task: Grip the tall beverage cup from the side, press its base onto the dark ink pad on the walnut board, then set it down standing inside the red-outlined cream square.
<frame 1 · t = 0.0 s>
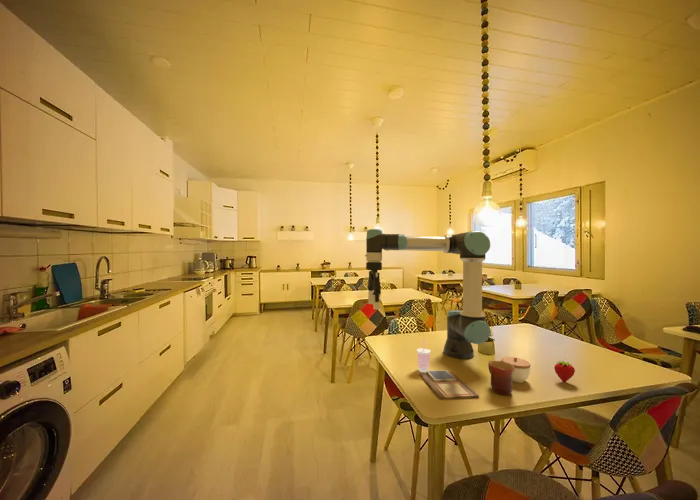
hand: (373, 306, 131), 28 cm above the table, tool pointing down, fingers open, 13 cm apart
stamp board: (446, 385, 111), on the table
beverage cup: (423, 370, 126), on the table
lidded jar: (515, 380, 117), on the table
strawberry: (564, 382, 115), on the table
mug: (498, 390, 108), on the table
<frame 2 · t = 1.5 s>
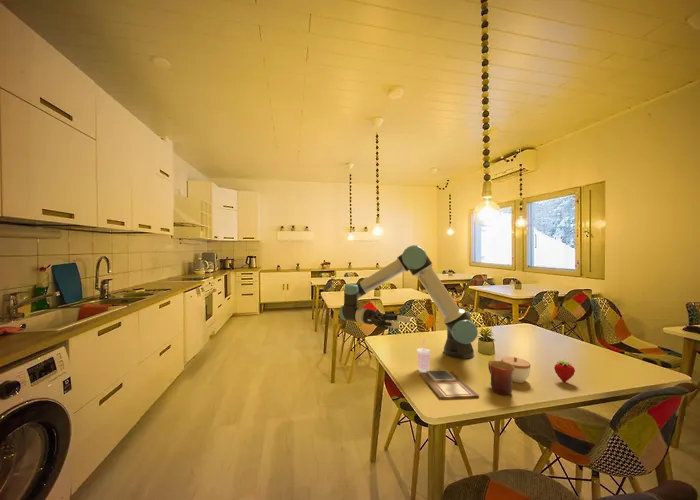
hand: (404, 322, 132), 20 cm above the table, tool horizontal, fingers open, 13 cm apart
nothing on the table moved.
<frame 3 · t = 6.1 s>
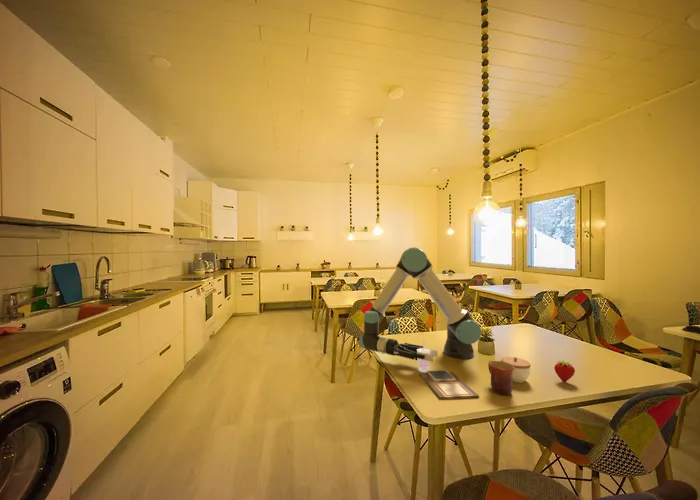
hand: (434, 356, 123), 8 cm above the table, tool horizontal, fingers closed on beverage cup, 6 cm apart
beverage cup: (423, 370, 126), on the table, touching gripper
everything else where it was.
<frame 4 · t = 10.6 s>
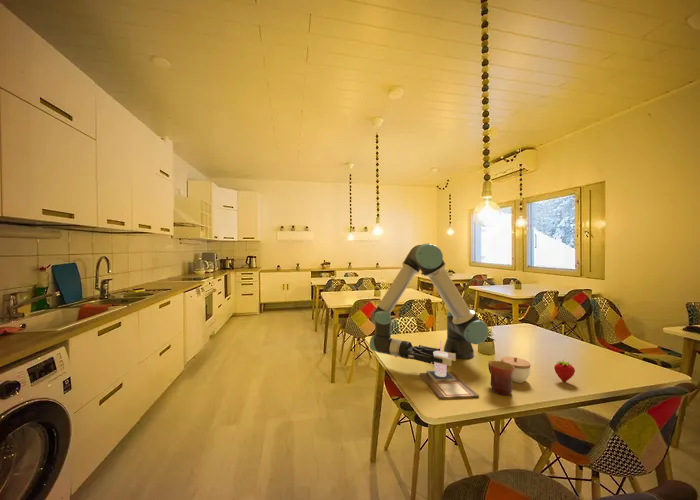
hand: (453, 359, 114), 9 cm above the table, tool horizontal, fingers closed on beverage cup, 6 cm apart
beverage cup: (440, 375, 117), point 2 cm above the table, touching gripper, stamp board
everything else where it was.
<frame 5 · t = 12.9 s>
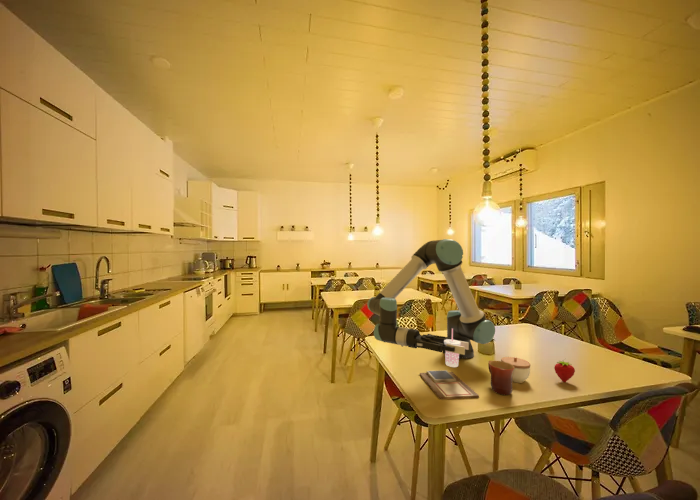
hand: (466, 348, 104), 17 cm above the table, tool horizontal, fingers closed on beverage cup, 6 cm apart
beverage cup: (451, 365, 107), point 10 cm above the table, touching gripper
everything else where it was.
when the fingers open (9 cm above the table, at t = 14.9 s): beverage cup stays where it is, resting on stamp board.
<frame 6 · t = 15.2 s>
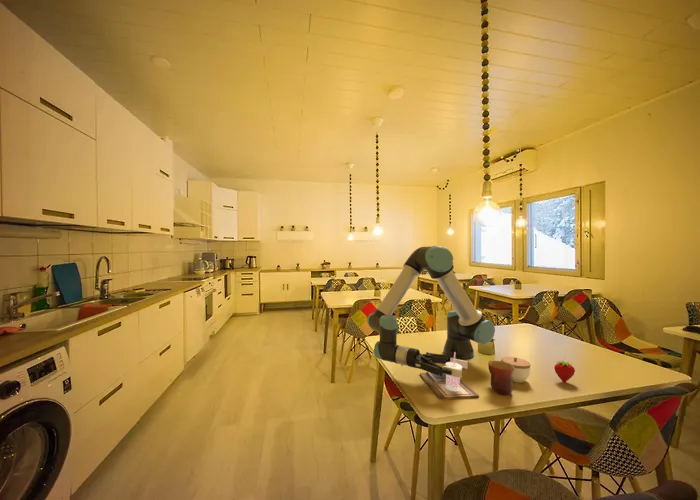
hand: (464, 369, 104), 9 cm above the table, tool horizontal, fingers open, 9 cm apart
beverage cup: (452, 388, 106), point 1 cm above the table, touching stamp board
everything else where it was.
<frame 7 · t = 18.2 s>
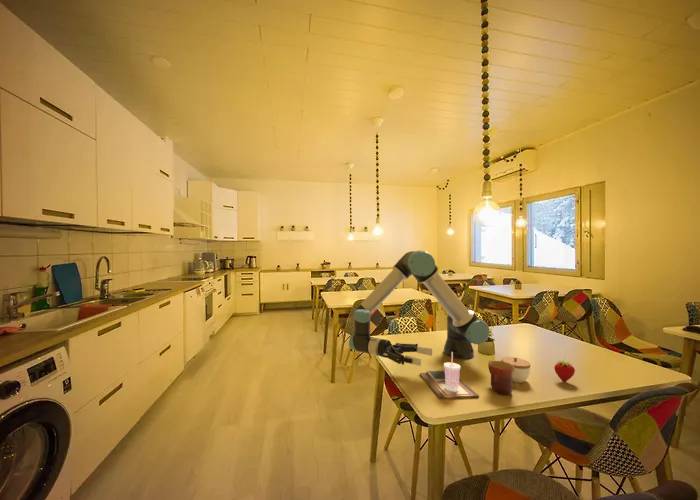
hand: (426, 357, 113), 11 cm above the table, tool horizontal, fingers open, 13 cm apart
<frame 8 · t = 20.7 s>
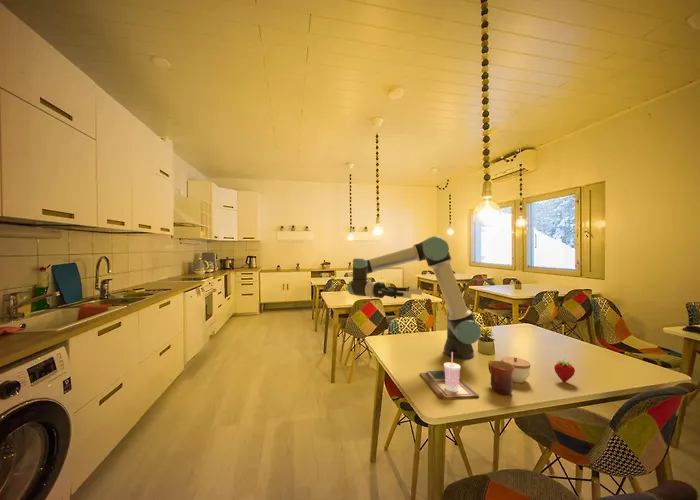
hand: (416, 293, 126), 35 cm above the table, tool horizontal, fingers open, 13 cm apart
nothing on the table moved.
at the end: beverage cup 0.2 cm from the target spot on the stamp board, point 0.7 cm above the stamp board's base; beverage cup tilted 0°; the gripper is holding nothing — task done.
